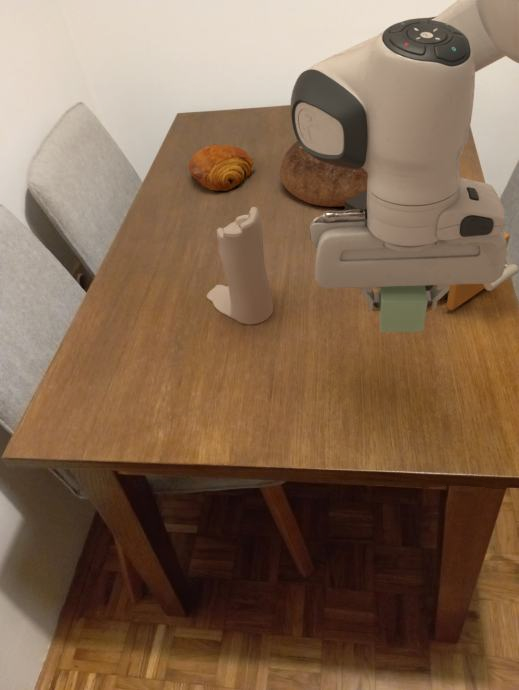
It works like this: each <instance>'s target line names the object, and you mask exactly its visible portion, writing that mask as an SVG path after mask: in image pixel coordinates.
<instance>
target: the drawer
mask: <svg viewBox="0 0 519 690" xmlns="http://www.w3.org/2000/svg"><path fill="white" fill-rule="evenodd" d="M503 233H504V236H505V239H506V243H507V246H509V245H508V244H509V241H510V237H511V234H509V233H507V232H505V231H503ZM518 273H519V267H518V265H516V264H514V263H511V264H507V263H505V267H504V272H503V275H502V276H501V277H500V278H499V279H498V280H496V281H495V282H494V283H490V284H457V285H450V289H449V291H448V292H447V293H446V294H445V295H444V296H443V297H442V298H440V299H441V300H444V299H446V298H447V300H446V305H445V306H446V308H447V309H449V310H450V311H454V310H455V309H457V308H458V307H459V306H461V305H463V304H464V303H465V302H467V301H468V300H469V299H472V298H473V297H474V296H476V295H477V294H478V293H480V292H481V291H483V290H484V289H485V290H486V291H488V292H492V291H494V290H495V289H496V288H497V287H499V286H500V285H502V284H504V283H506V282H507V281H508V280H509V279H511V278H512V277H514V276H515V275H517V274H518ZM433 286H434V285H425V288H426V291H430V290H431V288H432V287H433Z"/></svg>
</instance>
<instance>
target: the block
mask: <svg viewBox="0 0 519 690" xmlns="http://www.w3.org/2000/svg"><path fill="white" fill-rule="evenodd" d="M426 291H427V290H426V288H425V285H423V286H390V287H378V292H380V298H381V307H380V311H378V319H379V331H380V333H381V334H383V333H424V330H425V323H426V315H427V310H426V309H427V302H428V300H427V294H426Z"/></svg>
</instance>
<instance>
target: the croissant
mask: <svg viewBox="0 0 519 690" xmlns="http://www.w3.org/2000/svg"><path fill="white" fill-rule="evenodd" d="M253 160H254V159H252V157H251V156H250V154H249V153H248V152H247V151H246V150H245V149H243V148H239V147H237V146H232V145H229V144H223V145H221V144H215V143H214V144H213V143H212V144H211V145H208V146H206V147H204V148H200V149H199V150H198V151H197V152H196V153H194V154H193V155H192V156H191V157H190V159H189V162H188V166H187V167H188V171H189V173H190V174H191V175H192V177H193V178H194V179H195V180H196V181H197V182H198V183H199V184H201V186H202V187H204V188H205V189H208V190H210V191H216V192H217V191H222V192H226V191H229V190H232V189H233V188H235V187H237V186H238V185H240V184H242V183H243V181H245V180H246V179H248V178H249V177H250V175H251V173H252V168H253V165H254V161H253Z"/></svg>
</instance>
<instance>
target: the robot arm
mask: <svg viewBox="0 0 519 690" xmlns="http://www.w3.org/2000/svg"><path fill="white" fill-rule="evenodd" d="M505 57H507V58H508V59H509V60H511V61H513V62H515V63H517V64H519V0H456V1H454V3H452V4H450V6H448V7H447V8H445V9H444V10H443V11H441V12H440V13H439V14H438V15H436V16H429V17H420V18H419V17H417V18H409V19H406V20H403V21H400V22H396V23H394V24H392V25H389V26H388V27H387V28H385V29H384V30H383V31H381V33H379V34H377V35H375V36H373V37H371V38H368V39H367V40H364V41H362V42H360V43H357V44H356V45H355V44H354V45H353V46H351V47H348V48H346V49H345V50H342V51H340V52H338V53H335V54H333V55H331V56H329V57H327V58H325V59H323V60H321V61H319V62H316V63H315V64H313V65H312V66H310V67H309V68H307V69H306V70H304V71H302V72H301V73H300V74H299V75H298V77H297V79H296V81H295V83H294V85H293V88H292V91H291V97H290V118H291V125H292V129H293V132H294V136H295V138H296V140H297V141H298V142H299V144H300V145H301V147H302V148H303V149H304V150H305V151H306V152H307V153H308V154H310V155H311V156H312V157H314V158H316V159H318V160H320V161H322V162H325V163H328V164H331V165H335V166H339V167H344V168H350V169H358V168H363V169H364V170H366V172H367V174H368V179H367V208H366V209H355V210H346V211H345V210H339V211H337V210H325V211H323V212H322V214H320V215H318V216H316V217H315V218H313V219H312V220H311V222H310V224H309V228H308V229H309V240H310V243H311V244H312V245H313V246H314V247H315V248H316V249H315V262H314V263H315V264H314V274H315V275H314V281H315V283H316V284H317V285H318V286H319V287H321V288H322V289H352V288H355V289H356V288H359V293H360V295H361V296H362V297H363V298H364V299H365V301H366V302H367V306H368V307H367V308H368V311H367V312H369V313H370V312H371V313H372V312H379V311H380V307H381V298H380V292H379V291H374V290H373V288H379V287H390V286H423V285H434V286H433V287H432V288H431V290H430V291H428V290H426V294H427V300H428V302H427V309H426V311H436V310H437V307H438V301H440V299H441V298H442V297H443V296H444V295H445V294H446V293H447V292H448V291H449V289H450V285H457V284H490V283H494V282H495V281H496V280H498V279H499V278H500V277H501V276H502V275H503V272H504V267H505V264H506V261H507V252H508V245H507V243H506V239H505V236H504V233H503V232H504V229H505V226H506V222H507V221H506V213H505V209H504V206H503V203H502V201H501V199H500V197H499V194H498V193H497V191H496V189H495V188H494V187H493V185H492V184H489V183H486V182H484V181H483V182H482V181H478V180H477V181H476V180H473V179H469V178H464V177H462V170H461V157H462V154H463V152H464V150H465V148H466V146H467V144H468V141H469V138H470V137H469V136H470V129H471V123H472V116H473V110H474V109H473V108H474V100H475V99H474V98H475V87H476V73H478V71H481V70H482V69H484V68H486V67H488V66H490V65H492V64H494V63H496V62H497V61H500V60H501V59H503V58H505Z"/></svg>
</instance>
